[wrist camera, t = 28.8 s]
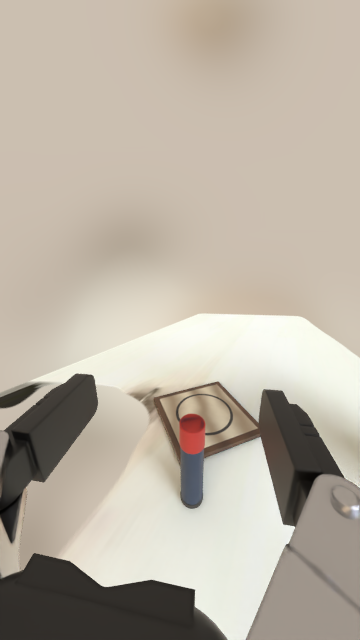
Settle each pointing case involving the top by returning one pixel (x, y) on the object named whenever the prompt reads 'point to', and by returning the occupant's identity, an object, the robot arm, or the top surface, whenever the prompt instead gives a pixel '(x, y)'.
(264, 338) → the top surface
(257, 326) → the top surface
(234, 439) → the sketch board
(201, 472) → the marker
